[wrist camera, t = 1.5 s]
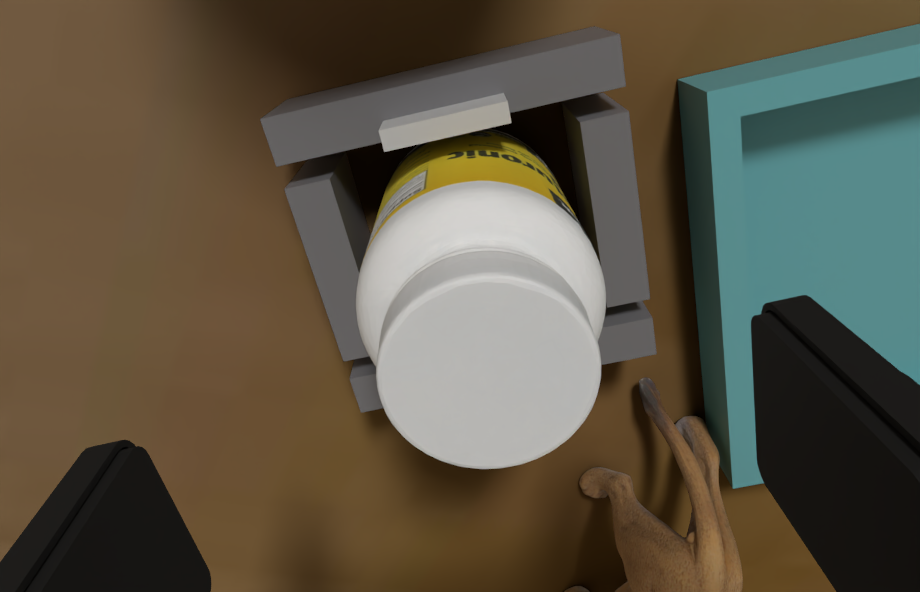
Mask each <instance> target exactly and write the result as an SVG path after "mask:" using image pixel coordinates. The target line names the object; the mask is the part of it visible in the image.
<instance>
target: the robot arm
mask: <svg viewBox="0 0 920 592" xmlns="http://www.w3.org/2000/svg"><path fill="white" fill-rule="evenodd" d="M751 342H752V364H753V386H754V408H755V431H756V453H757V464H758V468H759V472H760V475H761V477H762V479H763V482H764V483H765V485H766V487H767V488H768V490H769V491H770V493H771V494H772V496H773V497H774V499H775V500H776V502H777V503H778V505H779V506H780V508H781V509H782V511H783V512H784V514H785V515H786V517H787V518H788V520H789V521H790V523H791V524H792V526H793V527H794V529H795V530H796V532H797V533H798V535H799V536H800V538H801V539H802V541H803V542H804V544H805V545H806V547H807V548H808V550H809V551H810V553H811V554H812V556H813V557H814V559H815V560H816V562H817V563H818V565H819V566H820V568H821V569H822V571H823V572H824V574H825V575H826V577H827V578H828V580H829V581H830V583H831V584H832V586H833V587H834V589H835V590H836V592H920V385H919V384H918V383H917V382H915V381H914V380H913V379H912V378H911V377H909V376H908V375H906V374H904V373H903V372H901V371H900V370H898V369H897V368H896V367H895V366H893V365H892V364H891V363H890V362H889V361H887V360H886V359H885V358H884V357H883V356H881V355H880V354H879V353H878V352H876V351H875V350H874V349H873V348H872V347H870V346H869V345H868V344H867V343H866V342H864V341H863V340H862V339H861V338H859V337H858V336H857V335H856V334H855V333H853V332H852V331H851V330H850V329H849V328H847V327H846V326H845V325H844V324H843V323H841V322H840V321H839V320H838V319H836V318H835V317H834V316H833V315H832V314H830V313H829V312H828V311H827V310H826V309H824V308H823V307H822V306H821V305H819V304H818V303H817V302H816V301H815V300H813V299H812V298H811V297H809V296H807V295H801V296H796V297H792V298H787V299H782V300H778V301H773V302H768V303H765V304H764V305H763V308H762V311H761V314H759V315H754V316H753V317H752V320H751ZM210 591H211V576H210V572H209V569H208V567H207V565H206V563H205V561H204V559H203V558H202V556H201V554H200V552H199V550H198V548H197V546H196V544H195V542H194V540H193V538H192V536H191V535H190V533H189V531H188V529H187V527H186V525H185V523H184V521H183V519H182V517H181V515H180V514H179V512H178V510H177V508H176V506H175V504H174V502H173V500H172V498H171V496H170V494H169V493H168V491H167V489H166V487H165V485H164V483H163V481H162V479H161V477H160V475H159V473H158V471H157V470H156V468H155V466H154V464H153V462H152V460H151V458H150V456H149V454H148V453H147V451H146V450H145V449H144V448H142V447H139V446H137V447H136V446H135V445H134V444H133V443H132V442H130V441H128V440H121V441H116V442H112V443H107V444H102V445H97V446H93V447H89V448H86V449H85V450H84V451H83V452H82V453H81V455H80V456H79V457H78V459H77V460H76V461H75V463H74V464H73V465H72V467H71V468H70V469H69V471H68V472H67V473H66V475H65V476H64V477H63V479H62V480H61V481H60V483H59V484H58V485H57V487H56V488H55V490H54V491H53V492H52V494H51V495H50V496H49V498H48V499H47V500H46V502H45V503H44V504H43V506H42V507H41V508H40V510H39V511H38V512H37V514H36V515H35V516H34V518H33V519H32V520H31V522H30V523H29V524H28V526H27V527H26V528H25V530H24V531H23V532H22V534H21V535H20V536H19V538H18V539H17V540H16V542H15V543H14V544H13V546H12V547H11V548H10V550H9V551H8V552H7V554H6V555H5V556H4V558H3V559H2V561H1V562H0V592H210Z"/></svg>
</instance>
